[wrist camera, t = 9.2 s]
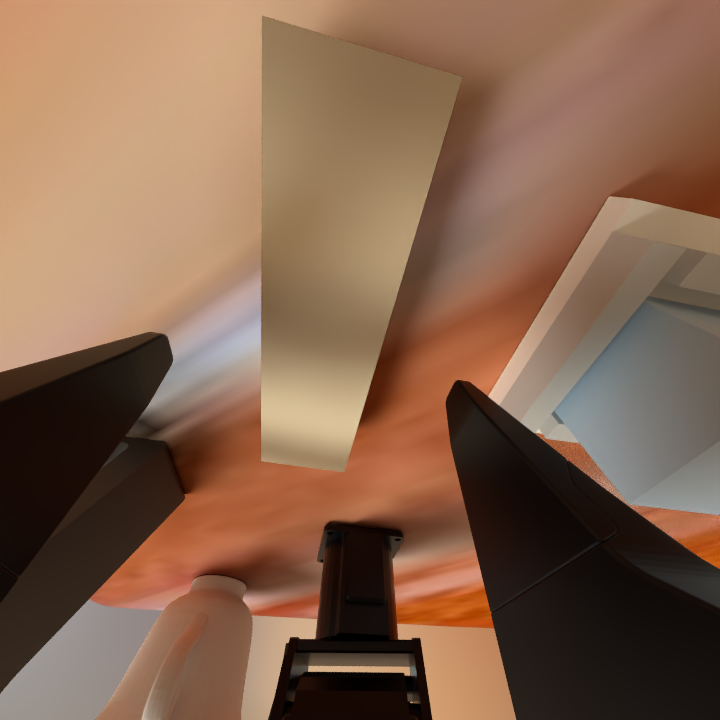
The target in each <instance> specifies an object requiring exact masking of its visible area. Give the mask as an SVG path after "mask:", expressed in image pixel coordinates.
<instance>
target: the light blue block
mask: <svg viewBox="0 0 720 720" xmlns="http://www.w3.org/2000/svg"><path fill="white" fill-rule="evenodd" d="M554 411H555V412H556V414H557V415H558V416H559V418H560V419H561V420H562V421H563V423H564V424H565V425H566V426H567V428H568V429H569V430H570V431H571V433H572V434H573V435H574V436H575V438H576V439H577V440H578V441H579V443H580V444H581V445H582V446H583V448H584V449H585V450H586V452H587V453H588V454H589V455H590V457H591V458H592V459H593V460H594V462H595V463H596V464H597V465H598V467H599V468H600V469H601V470H602V472H603V473H604V474H605V475H606V477H607V478H608V479H609V480H610V482H611V483H612V484H613V486H614V487H615V488H616V489H617V491H618V492H619V493H620V494H621V496H622V497H623V498H624V499H625V501H626V502H627V503H628V504H630V505H638V506H646V507H655V508H663V509H672V510H680V511H688V512H697V513H705V514H714V515H720V310H715V309H710V308H705V307H700V306H695V305H690V304H685V303H680V302H675V301H670V300H665V299H660V298H655V297H650V296H648V297H647V298H646V299H645V300H644V301H643V303H642V304H641V305H640V306H639V308H638V309H637V310H636V311H635V312H634V314H633V315H632V316H631V317H630V318H629V320H628V321H627V322H626V323H625V325H624V326H623V327H622V328H621V329H620V331H619V332H618V333H617V334H616V336H615V337H614V338H613V339H612V340H611V342H610V343H609V344H608V345H607V346H606V348H605V349H604V350H603V351H602V353H601V354H600V355H599V356H598V357H597V359H596V360H595V361H594V362H593V364H592V365H591V366H590V367H589V368H588V370H587V371H586V372H585V373H584V374H583V376H582V377H581V378H580V379H579V381H578V382H577V383H576V384H575V385H574V387H573V388H572V389H571V390H570V391H569V393H568V394H567V395H566V396H565V398H564V399H563V400H562V401H561V402H560V404H559V405H558V406H557V407H556V409H555V410H554Z"/></svg>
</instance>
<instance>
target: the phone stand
mask: <svg viewBox="0 0 720 720" xmlns="http://www.w3.org/2000/svg"><path fill="white" fill-rule="evenodd" d="M184 499H185V495H184V492H183V490H182V487H181V484H180V482H179V479H178V476H177V474H176V471H175V468H174V466H173V463H172V460H171V458H170V455H169V452H168V449H167V447H166V444H165V442H164V441H157V440H149V439H140V438H131V437H124V438H123V440H122V441H121V442H120V444H119V445H118V446H117V448H116V449H115V450H114V452H113V453H112V455H111V456H110V457H109V459H108V460H107V461H106V463H105V464H104V465H103V467H102V468H101V469H100V471H99V472H98V473H97V475H96V476H95V477H94V479H93V480H92V481H91V483H90V484H89V485H88V487H87V488H86V489H85V491H84V492H83V493H82V495H81V496H80V497H79V499H78V500H77V502H76V503H75V504H74V506H73V507H72V508H71V510H70V511H69V512H68V514H67V515H66V516H65V518H64V519H63V520H62V522H61V523H60V524H59V526H58V527H57V528H56V530H55V531H54V532H53V534H52V535H51V536H50V538H49V539H48V540H47V542H46V543H45V544H44V546H43V547H42V549H41V550H40V551H39V553H38V554H37V555H36V557H35V558H34V559H33V561H32V562H31V563H30V565H29V566H28V567H27V569H26V570H25V571H24V573H23V574H22V575H21V576H20V577H18V578H19V580H18V581H17V583H16V584H15V585H14V587H13V588H12V589H11V591H10V592H9V593H8V595H7V596H6V597H5V599H4V600H3V601H2V603H1V604H0V693H1V692H2V691H3V689H4V688H5V687H6V686H7V685H8V684H9V682H10V681H11V680H12V679H13V678H14V677H15V676H16V674H17V673H18V672H19V671H20V670H21V669H22V668H23V667H24V666H25V665H26V664H27V663H28V662H29V661H30V659H32V658H33V657H34V656H35V654H36V653H37V652H38V651H39V650H40V649H41V648H42V647H43V646H44V645H45V644H46V643H47V642H48V641H49V640H50V639H51V638H52V637H53V636H54V635H55V634H56V633H57V632H58V631H59V630H60V629H61V628H62V626H63V625H64V624H65V623H66V622H67V621H68V620H69V619H70V618H71V617H72V616H73V615H74V614H75V613H76V612H77V611H78V610H79V609H80V608H81V607H82V606H83V605H84V604H85V603H86V601H88V599H89V598H90V597H91V596H92V595H93V594H94V593H95V592H96V591H97V590H98V589H99V588H100V587H101V586H102V585H103V584H104V583H105V582H106V581H107V580H108V579H109V578H110V577H111V576H112V575H113V573H114V572H115V571H116V570H117V569H118V568H119V567H120V566H121V565H122V564H123V563H124V562H125V561H126V560H127V559H128V558H129V557H130V556H131V555H132V554H133V553H134V552H135V551H136V550H137V549H138V548H139V546H140V545H141V544H142V543H143V542H144V541H145V540H146V539H147V538H148V537H149V536H150V535H151V534H152V533H153V532H154V531H155V530H156V529H157V528H158V527H159V526H160V525H161V524H162V523H163V522H164V520H165V519H166V518H167V517H168V516H169V515H170V514H171V513H172V512H173V511H174V510H175V509H176V508H177V507H178V506H179V505H180V504H181V503H182V502H183V501H184Z"/></svg>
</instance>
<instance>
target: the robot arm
mask: <svg viewBox="0 0 720 720" xmlns="http://www.w3.org/2000/svg"><path fill="white" fill-rule="evenodd" d="M172 362H173V355H172V351H171V347H170V344H169V340H168V337H167V336H166V335H165V334H161V333H155V332H147V333H143V334H140V335H136V336H132V337H129V338H125V339H121V340H118V341H114V342H110V343H107V344H103V345H99V346H96V347H92V348H88V349H85V350H81V351H77V352H73V353H70V354H66V355H62V356H59V357H55V358H51V359H48V360H44V361H40V362H37V363H33V364H29V365H26V366H22V367H18V368H15V369H11V370H7V371H4V372H0V604H1V603H2V601H3V600H4V599H5V597H6V596H7V595H8V593H9V592H10V591H11V589H12V588H13V587H14V585H15V584H16V583H17V581H18V580H19V578H18V577H20V576H21V575H22V574H23V573H24V571H25V570H26V569H27V567H28V566H29V565H30V563H31V562H32V561H33V559H34V558H35V557H36V555H37V554H38V553H39V551H40V550H41V549H42V547H43V546H44V544H45V543H46V542H47V540H48V539H49V538H50V536H51V535H52V534H53V532H54V531H55V530H56V528H57V527H58V526H59V524H60V523H61V522H62V520H63V519H64V518H65V516H66V515H67V514H68V512H69V511H70V510H71V508H72V507H73V506H74V504H75V503H76V502H77V500H78V499H79V497H80V496H81V495H82V493H83V492H84V491H85V489H86V488H87V487H88V485H89V484H90V483H91V481H92V480H93V479H94V477H95V476H96V475H97V473H98V472H99V471H100V469H101V468H102V467H103V465H104V464H105V463H106V461H107V460H108V459H109V457H110V456H111V455H112V453H113V452H114V450H115V449H116V448H117V446H118V445H119V444H120V442H121V441H122V440H123V438H124V437H125V436H126V434H127V433H128V432H129V430H130V429H131V428H132V426H133V425H134V424H135V422H136V421H137V420H138V418H139V417H140V416H141V414H142V413H143V411H144V410H145V409H146V407H147V406H148V404H149V403H150V401H151V399H152V398H153V396H154V394H155V393H156V391H157V389H158V387H159V386H160V384H161V382H162V381H163V379H164V377H165V375H166V374H167V372H168V370H169V368H170V367H171V365H172ZM446 411H447V419H448V428H449V436H450V443H451V449H452V453H453V457H454V461H455V466H456V470H457V474H458V478H459V482H460V486H461V491H462V495H463V499H464V503H465V507H466V511H467V515H468V520H469V524H470V528H471V532H472V536H473V540H474V545H475V549H476V553H477V557H478V561H479V565H480V569H481V574H482V578H483V582H484V586H485V590H486V594H487V599H488V603H489V607H490V611H491V612H492V613H491V616H492V620H493V624H494V629H495V633H496V637H497V641H498V645H499V649H500V653H501V658H502V662H503V666H504V670H505V674H506V678H507V682H508V687H509V691H510V695H511V699H512V703H513V707H514V712H515V715H516V720H720V569H719V568H717V567H715V566H713V565H711V564H710V563H708V562H706V561H705V560H703V559H701V558H700V557H698V556H697V555H695V554H694V553H693V552H691V551H690V550H688V549H687V548H685V547H684V546H683V545H681V544H680V543H679V542H677V541H676V540H674V539H673V538H672V537H670V536H669V535H667V534H666V533H665V532H663V531H662V530H661V529H659V528H658V527H656V526H655V525H654V524H652V523H651V522H650V521H648V520H647V519H645V518H644V517H643V516H641V515H640V514H638V513H637V512H636V511H634V510H633V509H632V508H630V507H629V506H627V505H626V504H625V503H623V502H622V501H621V500H619V499H618V498H617V497H615V496H614V495H612V494H611V493H610V492H608V491H607V490H606V489H604V488H603V487H602V486H600V485H599V484H598V483H597V482H595V481H594V480H593V479H591V478H590V477H589V476H588V475H586V474H585V473H584V472H582V471H581V470H580V469H579V468H577V467H576V466H575V465H574V464H572V463H571V462H570V461H567V460H566V458H565V457H563V456H562V455H561V454H560V453H558V452H557V451H556V450H555V449H553V448H552V447H551V446H550V445H548V444H547V443H546V442H545V441H543V440H542V439H541V438H540V437H538V436H537V435H536V434H535V433H533V432H532V431H531V430H529V429H528V428H527V427H526V426H524V425H523V424H522V423H521V422H519V421H518V420H517V419H516V418H514V417H513V416H512V415H511V414H509V413H508V412H507V411H506V410H504V409H503V408H502V407H501V406H499V405H498V404H497V403H496V402H494V401H493V400H492V399H491V398H489V397H488V396H487V395H486V394H484V393H483V392H482V391H480V390H479V389H478V388H477V387H475V386H474V385H473V384H472V383H470V382H468V381H462V380H457V381H455V383H454V384H453V386H452V388H451V390H450V392H449V395H448V397H447V399H446ZM403 541H404V534H403V533H402V532H399V531H389V530H379V529H369V528H359V527H349V526H339V525H326V526H325V527H324V530H323V535H322V539H321V544H320V548H319V552H318V558H317V561H318V562H320V563H323V571H322V581H321V590H320V600H319V610H318V619H317V629H316V638H315V639H299V638H298V637H291V638H290V640H289V643H287V644H286V646H285V652H284V659H283V663H282V667H281V672H280V676H279V681H278V685H277V689H276V693H275V698H274V701H273V704H272V708H271V711H270V715H269V718H268V720H432V715H431V708H430V702H429V695H428V688H427V682H426V675H425V667H424V661H423V654H422V647H421V640H420V638H412V640H398V633H397V617H396V603H395V590H394V576H393V562H392V559H393V557H394V555H395V554H396V552H397V551H398V549H399V547H400V546H401V544H402V542H403ZM308 666H403V667H404V666H405V667H406V666H407V667H410V676H404V673H367V672H364V673H363V672H308ZM410 702H413V703H410Z"/></svg>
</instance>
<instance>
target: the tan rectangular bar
mask: <svg viewBox="0 0 720 720" xmlns="http://www.w3.org/2000/svg"><path fill="white" fill-rule="evenodd" d="M461 80H462V76H458V75H455V74H452V73H448V72H445V71H442V70H439V69H435V68H432V67H429V66H425V65H422V64H419V63H416V62H412V61H409V60H406V59H402V58H399V57H396V56H393V55H389V54H386V53H383V52H380V51H376V50H373V49H370V48H366V47H363V46H360V45H357V44H353V43H350V42H347V41H343V40H340V39H337V38H334V37H330V36H327V35H324V34H321V33H317V32H314V31H311V30H307V29H304V28H301V27H298V26H294V25H291V24H288V23H284V22H281V21H278V20H275V19H271V18H268V17H265V16H262V312H261V461H263V462H271V463H278V464H286V465H294V466H301V467H309V468H317V469H324V470H332V471H339V472H344V471H345V468H346V464H347V461H348V458H349V454H350V451H351V448H352V444H353V441H354V438H355V434H356V431H357V428H358V424H359V421H360V418H361V414H362V411H363V408H364V404H365V401H366V398H367V394H368V391H369V388H370V384H371V381H372V378H373V374H374V371H375V368H376V364H377V361H378V358H379V354H380V351H381V348H382V344H383V341H384V338H385V334H386V331H387V327H388V324H389V321H390V317H391V314H392V311H393V307H394V304H395V301H396V297H397V294H398V291H399V287H400V284H401V281H402V277H403V274H404V271H405V267H406V264H407V261H408V257H409V254H410V251H411V247H412V244H413V241H414V237H415V234H416V231H417V227H418V224H419V221H420V217H421V214H422V211H423V207H424V204H425V201H426V197H427V194H428V191H429V187H430V184H431V181H432V177H433V174H434V171H435V167H436V164H437V161H438V157H439V154H440V151H441V147H442V144H443V140H444V137H445V134H446V130H447V127H448V124H449V120H450V117H451V114H452V110H453V107H454V104H455V100H456V97H457V94H458V90H459V87H460V84H461Z"/></svg>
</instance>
